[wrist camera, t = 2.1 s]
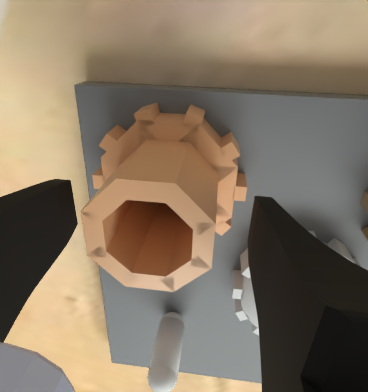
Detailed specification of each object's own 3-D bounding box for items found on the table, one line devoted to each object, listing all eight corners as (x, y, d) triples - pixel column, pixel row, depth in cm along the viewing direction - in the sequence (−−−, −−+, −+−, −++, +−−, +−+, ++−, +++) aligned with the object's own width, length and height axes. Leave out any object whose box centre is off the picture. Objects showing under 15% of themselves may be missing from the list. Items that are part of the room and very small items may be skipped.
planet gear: (110, 225, 17) (63, 302, 12) (97, 99, 14) (26, 133, 9) (236, 237, 16) (241, 323, 11) (254, 107, 13) (271, 149, 8)
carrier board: (116, 348, 24) (79, 456, 18) (85, 81, 14) (-19, 113, 8) (395, 385, 22) (462, 521, 16) (570, 105, 12) (905, 170, 6)
